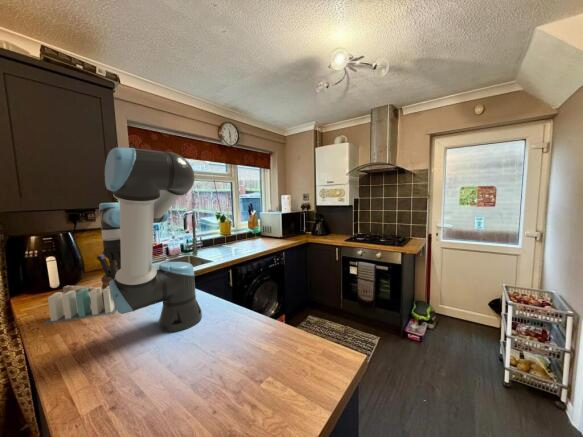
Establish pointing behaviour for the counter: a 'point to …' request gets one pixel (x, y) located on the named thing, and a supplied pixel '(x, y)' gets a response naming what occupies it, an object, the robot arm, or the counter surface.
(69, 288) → the rock
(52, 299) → the domino
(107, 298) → the domino
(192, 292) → the robot arm
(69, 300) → the domino
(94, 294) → the domino
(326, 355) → the counter surface
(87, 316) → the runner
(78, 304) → the teal domino
